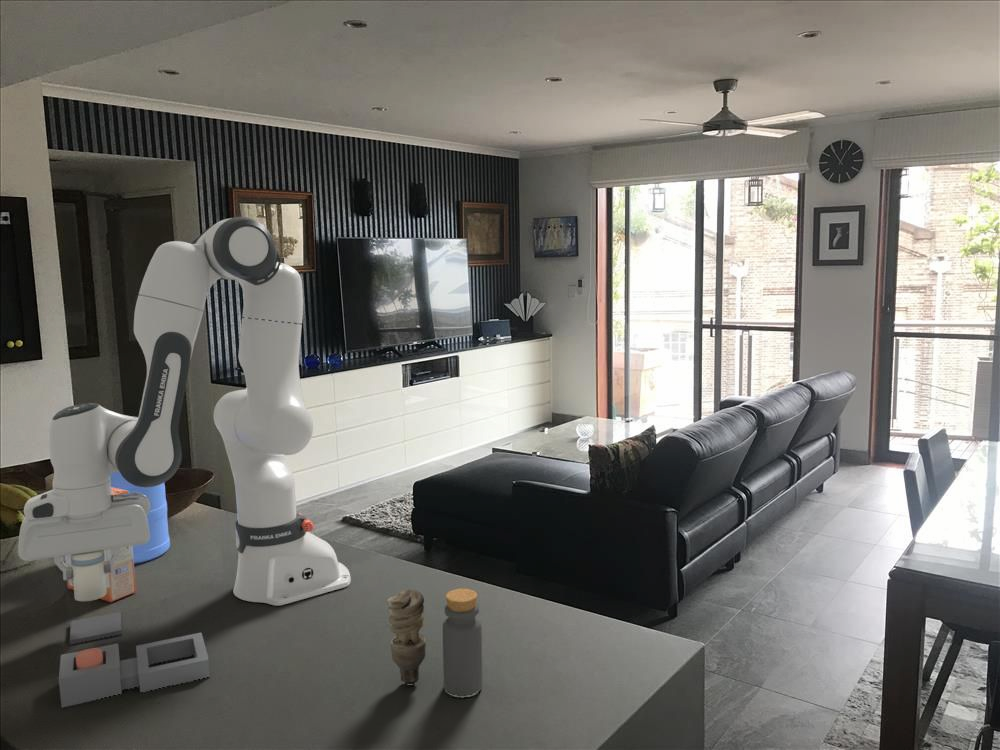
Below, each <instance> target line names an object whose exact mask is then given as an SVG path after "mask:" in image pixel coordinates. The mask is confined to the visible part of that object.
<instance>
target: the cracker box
mask: <svg viewBox="0 0 1000 750" xmlns="http://www.w3.org/2000/svg"><path fill="white" fill-rule="evenodd" d="M118 494H128V491H127V490H122V489H118V488H113V487H111V495H118ZM112 503H113V501H112ZM119 551H120V554H119V556H118V558H117V559H116V561H115V563H114V573H108V574H105V577H106V591H107V593H106V595H105V596H103V597H102V598H99V599H100V600H102V601H106V602H109V603H113V602H115V601H117V600H120V599H122V598H125V597H128V596H130V595H133V594H135V593H136V592H137V590H136V589H137V587H136V575H135V564H134V559H133V547H132V546H129V547H122V548H119ZM104 555H105V559H104V562H105V561H109V560H110V558H111V556H112V554H111V549H108V550H104ZM64 563H65V565H66V566H67V567H71V566H72V564H71V555H66V556H64ZM66 582H67V584H66V585H67V589H68V590H72V591H74V584H73V579H69V580H66ZM99 599H98V600H99Z"/></svg>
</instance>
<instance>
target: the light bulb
mask: <svg viewBox="0 0 1000 750" xmlns="http://www.w3.org/2000/svg"><path fill="white" fill-rule="evenodd" d="M424 603H425V598H424V596H423V594H422V593H421V592H420V591H418V590H415V589H404V590H402V591H400V592H398V594H397V595H394V596H390V597H389V598H388V599H387V600H386V604H387V606H388V608H387V613H388V615H390V616H389V617H388V620H389V623H390V625H391V627H390V631H391V633H393V634H396V635H395V636H394V637H392V639H391V641H390V652H391V658H392V660H393V662H394V663H395V664H396V665H397V666H398V668H399V672H400V681H401V682H403V683H405V685H406V684H414V685H415V683H418V681H419V680H420V666H421V664H422V663H423V661H424V659H425V657H426V647H427V644H426V639H425V637H424V635H422V634H419V633H420V632H419V631H420V630H421V629H422V628H423V625H424V619H425V618H424V617H425V615H424V612H425V607H424V606H425V605H424Z"/></svg>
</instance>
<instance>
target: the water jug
mask: <svg viewBox="0 0 1000 750" xmlns="http://www.w3.org/2000/svg"><path fill="white" fill-rule="evenodd" d="M110 480H111V487H113V488H118V489H122V490H127V491H128V494H132V493H136V492H137V493H140V494H143V495H145V496H147V497H148V498H149V500H150V512H149V514H148V515H147V520H148V525H149V531H150V539H149V541H148V542H147V543H146V544H143V545H136V546H132V547H133V559H134V565H136V564H140V563H145V562H148V561H152V560H154V559H156V558H159V557H160V556H162V555H164V554H165V553H166V552H167V551H168V550H169V549H170V546H171V540H170V535H169V525H168V522H169V521H168V502H167V499H166V497H167V496H166V486H165V483H166V482H164V483H162V484H160V485H157V486H154V487H138V486H135V485H133V484H131V483H129V482H128V481H126V480H125V479H124V478H123V476H122V475H121V473H120V472H114V473H112V474H111V475H110ZM140 498H143V497H140Z"/></svg>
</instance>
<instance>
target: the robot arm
mask: <svg viewBox="0 0 1000 750" xmlns="http://www.w3.org/2000/svg"><path fill="white" fill-rule="evenodd" d="M218 280H219V281H223V280H224V281H225V280H230V281H237V282H238V283H239V285H240V287H241V289H242V292H243V293H242V294H243V300H244V301H243V309H242V317H241V325H240V334H239V335H240V336H239V345H238V361H239V364H240V366H241V368H242V371H243V374H244V381H245V385H246V389H237V390H233V391H229V392H227V393H225V394H223V396H221V398H219V399H218V401H216V404H215V407H214V409H213V421H214V424H215V426H216V428H217V430H218V432H219V434H220V435H221V438H222V440H223V444H224V448H225V452H226V454H227V458H228V462H229V465H230V468H231V473H232V476H233V481H234V488H235V500H236V502H235V503H236V514H237V520H236V521H235V529H234V530H235V545H236V549H237V552H238V557H237V558H238V559H237V570H236V577H235V582H234V586H233V591H232V592H233V594H234V596H235V597H236V598H238V599H240V600H243V601H246V602H251V603H264V604H268V605H272V606H284V605H287V604H292V603H294V602H299V601H301V600H304V599H308V598H312V597H316V596H318V595H322V594H323V595H324V594H326V593H328V592H333V591H335V590H336V591H337V590H340V589H343V588H346V587H348V586H349V585H350V584H351V582H352V579H351V573H350V571H349V569H348V567H346V566H345V564H343V563H341V562H339V561H338V557H337V554H336V552H335V550H334V548H333V547H332V545H331V544H329V543H328V541H326V540H324V539H323V538H320V537H318V536H316V535H315V534H313V533H311V531H313V530H314V523H313V522H312V521H311V519H307V517H306V516H305V515H303V514H302V513H300V512H297V497H296V481H295V477H294V474H293V472H292V470H291V469H290V467H289V465H288V462H287V461H286V458H285V456H292V455H296V454H298V453H300V452H302V451H303V450H304V449H306V447H307V446H308V444H309V443H310V441H311V439H312V438H313V433H314V421H313V418H312V416H311V413H310V412H309V411H308V408H307V407H306V406H307V405H306V404H305V401H304V397H303V390H302V385H301V377H300V367H299V366H300V349H301V339H302V338H301V337H302V328H303V327H302V326H303V316H304V315H303V313H304V293H303V290H304V289H303V282H302V277H301V275H300V273H299V271H297V270H296V269H295V268H294V267H292V266H291V265H288V264H287V263H282V258H281V256H280V254H279V252H278V250H277V247H276V244H275V241H274V238H273V236H272V233H270V231H269V229H268V228H267V227H266V226H265V225H264V224H263V223H261V222H260V221H258V220H256V219H254V218H251V217H247V216H236V217H230V218H224V219H222V220H220V221H218V222H216V223H215V224H213V225H211V226H209V227H208V228H206V229H205V230H204V231H203V232H202V233H201V234H199V236H197V238H195V240H194V241H192V242H191V243H189V242H185V241H182V240H181V241H179V240H173V241H168V242H167V241H166V242H165V243H162V244H161V245H159V246H158V247H157V248H156V250H155V251H154V253H153V256H152V258H151V259H150V261H149V263H148V266H147V268H146V271H145V274H144V276H143V278H142V281H141V285H140V288H139V291H138V295H137V299H136V303H135V308H134V313H133V314H134V316H133V317H134V318H133V334H134V336H135V339H136V340H137V342H138V344H139V346H140V349H141V350H142V353H143V355H144V359H145V362H146V363H145V364H146V378H145V383H144V387H143V393H142V399H141V403H140V408H139V413H138V416H130V415H126V414H121V413H118V412H115V411H112V410H109V409H107V408H105V407H103V406H101V405H100V404H99V403H95V402H88V403H86V402H85V403H79V404H75V405H71V406H67V407H65V408H63V409H61V410H58V412H56V414H55V415H54V416H53V417H52V419H51V422H50V427H49V440H48V441H49V457H50V458H49V459H50V463H51V465H52V468H53V473H54V474H53V479H52V489H51V490H48V491H45V492H43V493H39V494H38V495H35V496H33V497H31V498H29V499H28V500H27V501H26V502H25V504H24V505H23V506H24V507H23V514H24V518H23V520H22V523H21V525H20V528H19V533H18V534H19V536H18V546H17V547H18V556H19V558H20V559H21V560H23V561H24V562H30V561H37V560H44V559H51V558H54V559H53V560H54V564H55V565H56V566H57V567H58V569H59V570H60V571H61V572H62V578H63V581H67V580H69V579H73V571H72V566H71V567H67V566H66V564H65V556H66V555H73V554H80V553H87V552H94V551H101V550H108V549H111V554H112V556H111V558H110V560H109V561H105V562H104V567H105V574H108V573H114V563H115V561H116V559H117V558H118V556H119V554H120V551H119V548H122V547H129V546H136V545H143V544H146V543H147V542H148V541H149V539H150V531H149V525H148V520H147V515H148V514H149V512H150V500H149V498H148V497H147V496H145V495H143V494H140V493H137V492H136V493H132V494H118V495H111V480H110V475H111V474H112V473H114V472H120V473H121V475H122V476H123V478H124V479H125V480H126V481H128V482H129V483H131V484H133V485H135V486H138V487H154V486H157V485H160V484H162V483H166V482H168V481H169V480H170V479H171V478H172V477H173V476H174V475H175V474H176V473H177V471H178V470H179V468H180V466H181V463H182V460H183V459H182V458H183V452H182V451H183V450H182V446H181V445H182V444H181V440H180V433H179V431H180V430H179V426H180V419H181V412H182V408H183V402H184V398H185V393H186V387H187V382H188V376H189V370H190V363H191V360H192V357H193V351H194V347H195V343H196V339H197V336H198V333H199V329H200V325H201V322H202V318H203V314H204V311H205V306H206V300H207V296H208V294H209V292H210V290H211V288H212V287H213V285H214V283H215V282H217V281H218ZM140 497H143V498H140ZM112 501H113V503H112Z"/></svg>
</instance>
